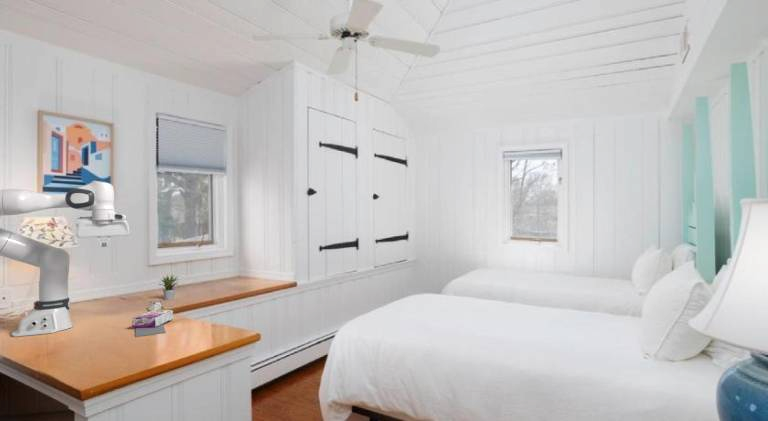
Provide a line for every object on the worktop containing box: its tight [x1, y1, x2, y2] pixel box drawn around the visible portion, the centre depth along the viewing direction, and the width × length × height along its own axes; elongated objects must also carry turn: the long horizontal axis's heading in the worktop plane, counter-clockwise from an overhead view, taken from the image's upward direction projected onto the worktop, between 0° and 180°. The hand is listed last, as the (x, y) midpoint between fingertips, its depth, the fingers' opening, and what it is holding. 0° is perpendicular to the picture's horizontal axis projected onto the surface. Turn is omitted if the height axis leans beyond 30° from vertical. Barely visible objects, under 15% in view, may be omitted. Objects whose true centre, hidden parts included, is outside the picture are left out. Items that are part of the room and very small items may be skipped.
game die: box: [145, 300, 166, 312], centre depth 227 cm, size 9×8×10 cm
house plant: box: [158, 274, 180, 301], centre depth 276 cm, size 14×14×16 cm
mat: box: [135, 323, 166, 338], centre depth 200 cm, size 12×24×1 cm, turn 30°
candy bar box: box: [131, 309, 174, 329], centre depth 208 cm, size 11×5×16 cm
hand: (104, 246), depth 195 cm, fingers closed
